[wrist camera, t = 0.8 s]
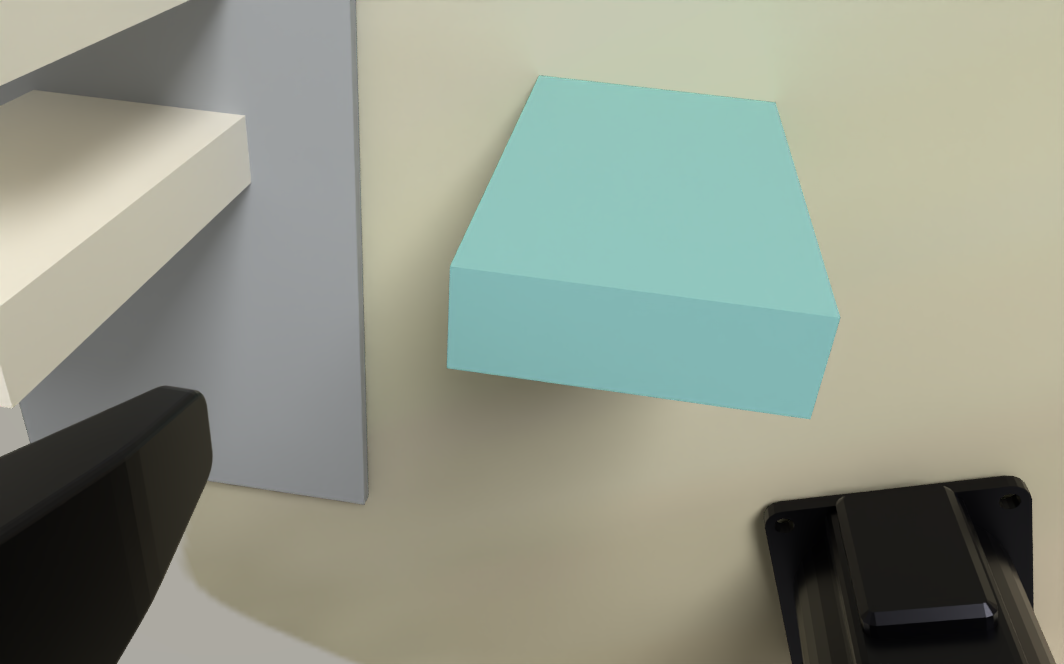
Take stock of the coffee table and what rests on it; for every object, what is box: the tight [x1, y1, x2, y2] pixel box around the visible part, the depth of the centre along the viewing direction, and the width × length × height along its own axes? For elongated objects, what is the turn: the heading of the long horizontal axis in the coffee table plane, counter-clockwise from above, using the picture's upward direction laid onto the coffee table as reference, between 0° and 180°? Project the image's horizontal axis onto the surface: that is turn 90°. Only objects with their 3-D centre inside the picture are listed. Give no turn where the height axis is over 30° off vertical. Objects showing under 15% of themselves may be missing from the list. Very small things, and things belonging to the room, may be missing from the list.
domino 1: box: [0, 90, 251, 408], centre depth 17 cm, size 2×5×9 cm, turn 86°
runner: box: [0, 0, 368, 504], centre depth 20 cm, size 26×10×1 cm, turn 176°
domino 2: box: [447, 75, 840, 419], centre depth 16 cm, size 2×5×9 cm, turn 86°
